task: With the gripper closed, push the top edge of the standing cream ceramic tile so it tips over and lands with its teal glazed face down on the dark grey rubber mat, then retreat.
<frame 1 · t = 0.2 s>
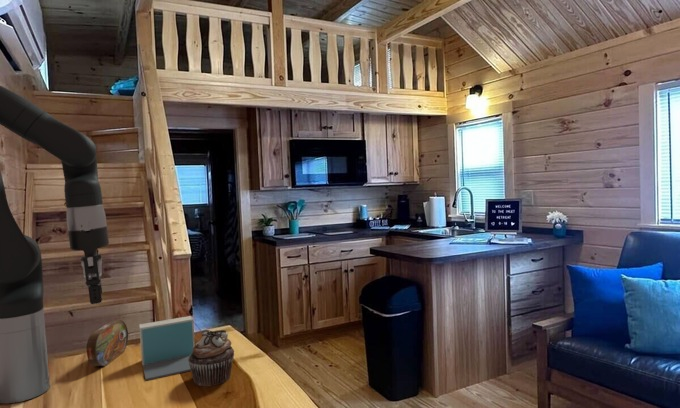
hand: (96, 298, 101), 18 cm above the table, tool pointing down, fingers open, 8 cm apart
tin: (109, 359, 111), on the table
mat: (172, 367, 105), on the table
tile: (168, 358, 111), on the table
cupcake: (212, 378, 98), on the table
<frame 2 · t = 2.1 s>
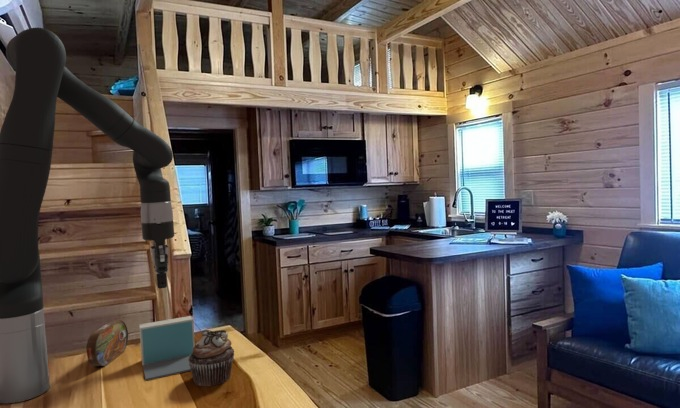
hand: (162, 287, 115), 16 cm above the table, tool pointing down, fingers closed
nothing on the table moved.
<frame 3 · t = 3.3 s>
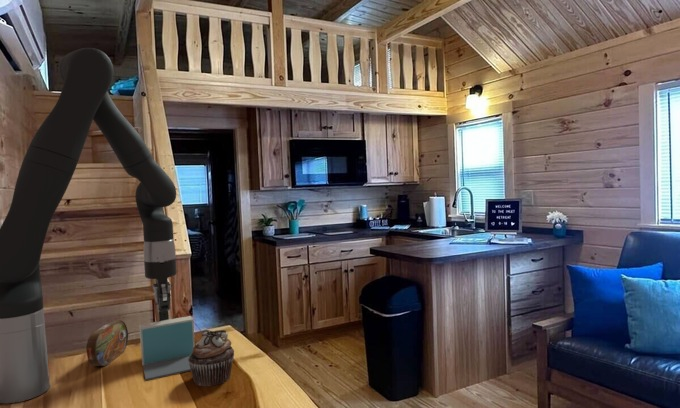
hand: (164, 324, 116), 6 cm above the table, tool pointing down, fingers closed
nothing on the table moved.
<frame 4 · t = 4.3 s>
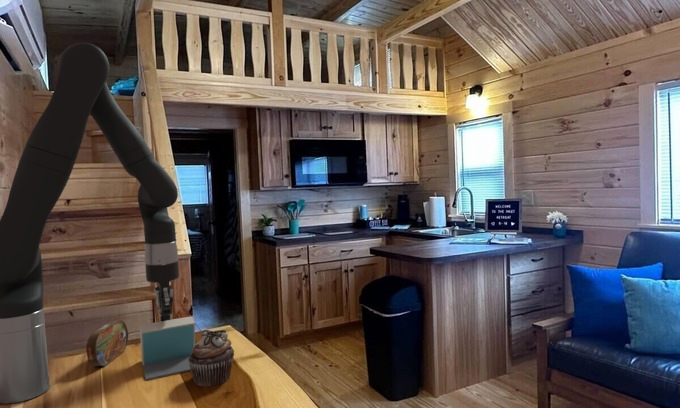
hand: (166, 329, 112), 6 cm above the table, tool pointing down, fingers closed
tile: (168, 356, 111), on the table, tilted 15°
everything else where it was.
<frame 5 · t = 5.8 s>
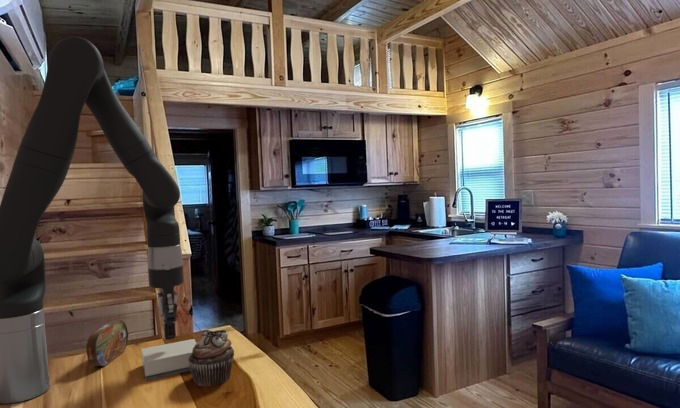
hand: (170, 338, 106), 7 cm above the table, tool pointing down, fingers closed
tile: (169, 350, 109), point 2 cm above the table, tilted 90°, touching mat
everything else where it was.
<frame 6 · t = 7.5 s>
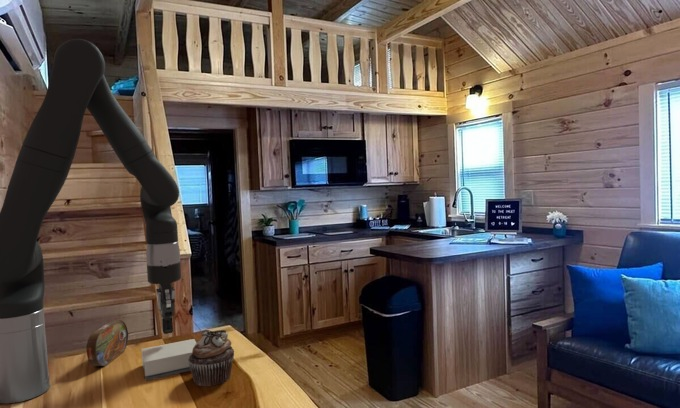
hand: (167, 332, 109), 7 cm above the table, tool pointing down, fingers closed
nothing on the table moved.
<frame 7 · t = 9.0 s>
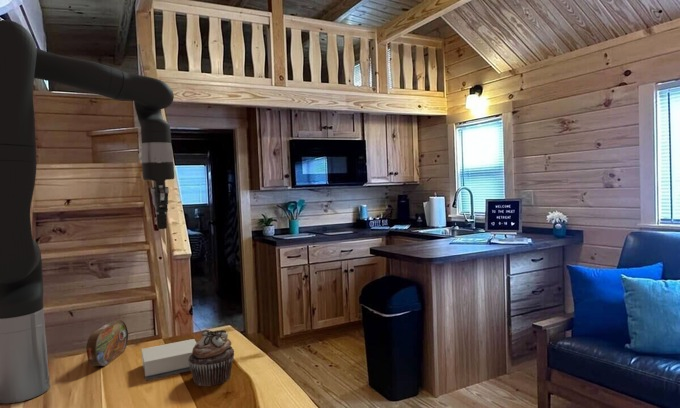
hand: (162, 228, 117), 31 cm above the table, tool pointing down, fingers closed
nothing on the table moved.
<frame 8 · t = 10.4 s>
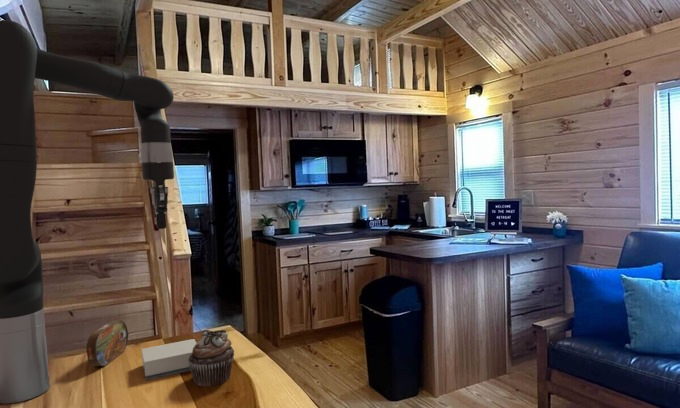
hand: (161, 228, 117), 31 cm above the table, tool pointing down, fingers closed
nothing on the table moved.
at the end: tile tilted 90°; tile inside the target area (3.0 cm from its centre), point 2.1 cm above the table; the gripper is holding nothing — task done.
